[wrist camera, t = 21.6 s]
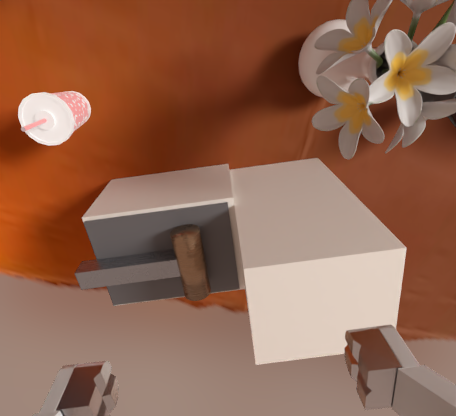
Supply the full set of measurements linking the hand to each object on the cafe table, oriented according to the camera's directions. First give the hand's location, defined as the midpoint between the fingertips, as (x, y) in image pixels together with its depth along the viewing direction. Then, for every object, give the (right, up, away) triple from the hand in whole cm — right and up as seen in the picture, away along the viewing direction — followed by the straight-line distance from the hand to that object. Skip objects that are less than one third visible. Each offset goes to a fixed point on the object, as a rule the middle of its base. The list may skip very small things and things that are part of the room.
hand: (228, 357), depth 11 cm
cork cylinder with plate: (-11, -2, +31) cm, 33 cm away
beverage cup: (-22, +19, +35) cm, 46 cm away
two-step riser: (-1, +6, +43) cm, 43 cm away
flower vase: (+14, +26, +34) cm, 45 cm away
